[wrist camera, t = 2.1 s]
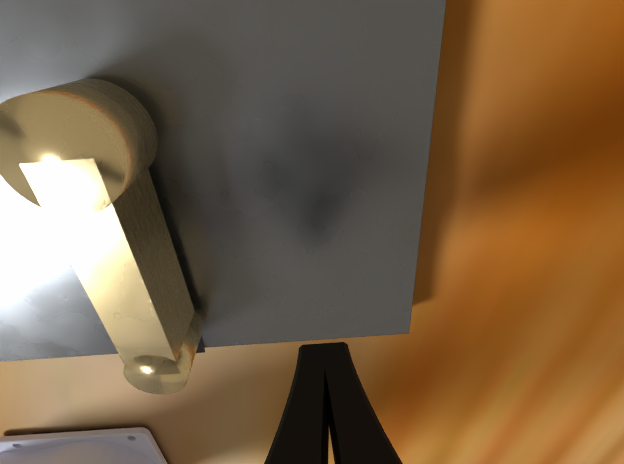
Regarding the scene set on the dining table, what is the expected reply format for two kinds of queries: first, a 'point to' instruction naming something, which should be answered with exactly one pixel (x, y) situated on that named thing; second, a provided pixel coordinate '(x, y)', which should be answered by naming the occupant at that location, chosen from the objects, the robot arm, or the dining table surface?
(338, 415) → the robot arm
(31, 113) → the lever
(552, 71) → the dining table surface
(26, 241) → the lock plate
